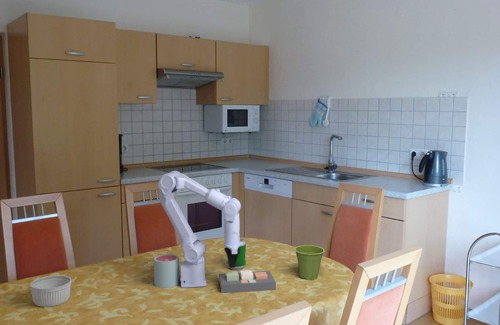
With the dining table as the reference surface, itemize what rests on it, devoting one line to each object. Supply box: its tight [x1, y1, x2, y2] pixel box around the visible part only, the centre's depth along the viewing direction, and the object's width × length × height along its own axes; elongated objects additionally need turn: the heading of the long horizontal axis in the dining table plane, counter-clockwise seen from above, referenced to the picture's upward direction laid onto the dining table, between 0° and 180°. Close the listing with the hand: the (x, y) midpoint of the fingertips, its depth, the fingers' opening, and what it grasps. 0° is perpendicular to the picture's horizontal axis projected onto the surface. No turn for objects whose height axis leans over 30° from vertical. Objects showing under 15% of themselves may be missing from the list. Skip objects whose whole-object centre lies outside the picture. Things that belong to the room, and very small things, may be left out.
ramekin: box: [29, 274, 72, 308], centre depth 159 cm, size 13×13×7 cm
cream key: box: [239, 269, 253, 280], centre depth 173 cm, size 4×4×4 cm
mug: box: [153, 253, 180, 289], centre depth 177 cm, size 14×9×10 cm
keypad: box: [218, 270, 277, 294], centre depth 173 cm, size 20×12×3 cm, turn 99°
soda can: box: [227, 237, 247, 271], centre depth 192 cm, size 8×8×12 cm
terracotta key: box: [254, 271, 268, 280], centre depth 174 cm, size 4×4×4 cm
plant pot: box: [294, 244, 325, 280], centre depth 182 cm, size 12×12×11 cm
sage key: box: [225, 270, 239, 281], centre depth 172 cm, size 4×4×4 cm
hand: (232, 267), depth 172 cm, fingers closed
